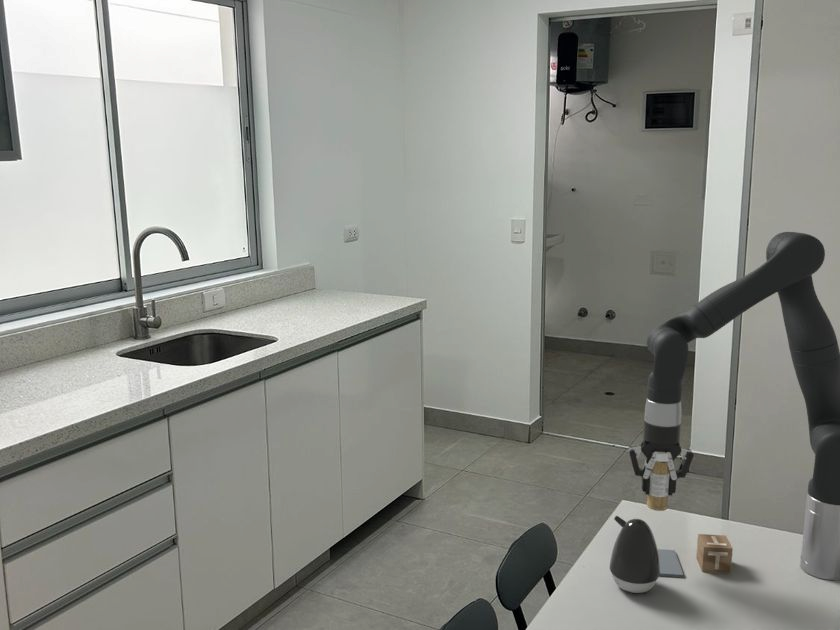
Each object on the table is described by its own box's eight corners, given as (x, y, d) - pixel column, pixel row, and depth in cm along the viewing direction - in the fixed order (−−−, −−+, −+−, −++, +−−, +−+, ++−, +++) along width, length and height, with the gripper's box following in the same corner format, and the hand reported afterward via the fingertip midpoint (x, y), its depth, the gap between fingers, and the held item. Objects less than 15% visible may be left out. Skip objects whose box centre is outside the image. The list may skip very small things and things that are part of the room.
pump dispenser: (624, 568, 180) (628, 504, 177) (667, 586, 173) (672, 519, 170) (598, 586, 173) (601, 519, 170) (642, 605, 166) (646, 536, 163)
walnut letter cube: (723, 560, 184) (726, 534, 183) (730, 574, 178) (732, 548, 177) (696, 558, 185) (698, 533, 183) (702, 572, 179) (704, 546, 177)
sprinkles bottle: (654, 501, 183) (658, 444, 180) (672, 507, 179) (676, 450, 177) (642, 506, 180) (645, 449, 177) (659, 513, 177) (663, 455, 174)
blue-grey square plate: (674, 552, 187) (674, 550, 187) (683, 577, 176) (683, 574, 176) (625, 549, 188) (625, 547, 188) (631, 574, 178) (631, 571, 178)
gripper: (693, 414, 178) (688, 488, 182) (626, 412, 180) (622, 485, 184) (700, 426, 171) (695, 502, 175) (630, 423, 173) (626, 499, 176)
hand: (658, 493), depth 179 cm, fingers closed on sprinkles bottle, 4 cm apart
